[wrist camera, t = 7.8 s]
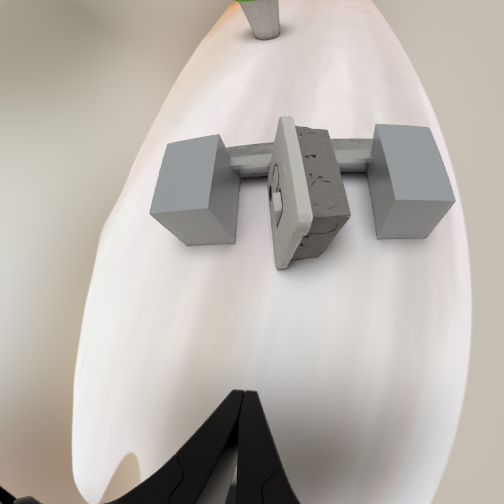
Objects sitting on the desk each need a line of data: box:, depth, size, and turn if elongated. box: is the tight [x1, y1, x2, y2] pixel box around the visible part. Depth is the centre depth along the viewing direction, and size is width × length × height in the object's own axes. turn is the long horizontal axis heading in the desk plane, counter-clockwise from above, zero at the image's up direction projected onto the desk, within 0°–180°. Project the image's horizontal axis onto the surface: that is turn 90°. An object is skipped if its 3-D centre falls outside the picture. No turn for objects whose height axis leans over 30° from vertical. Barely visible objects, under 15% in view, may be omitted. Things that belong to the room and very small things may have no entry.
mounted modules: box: [150, 124, 455, 245], centre depth 22 cm, size 7×23×7 cm, turn 87°
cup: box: [236, 0, 280, 40], centre depth 32 cm, size 8×8×15 cm
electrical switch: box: [267, 116, 351, 269], centre depth 21 cm, size 9×5×9 cm, turn 3°
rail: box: [226, 139, 373, 178], centre depth 25 cm, size 2×24×4 cm, turn 87°
